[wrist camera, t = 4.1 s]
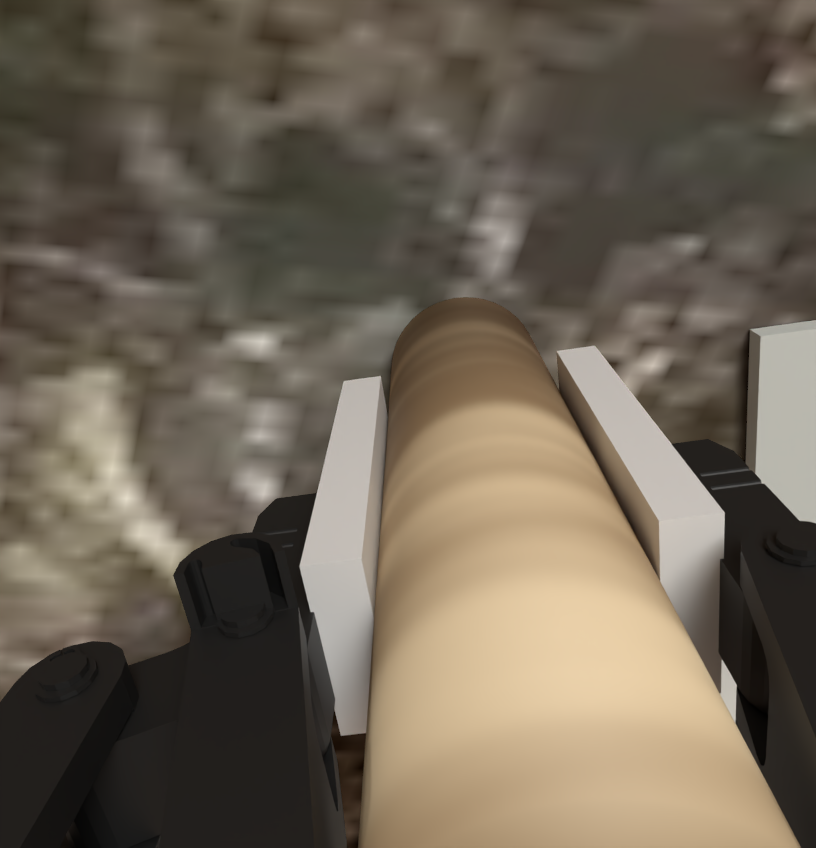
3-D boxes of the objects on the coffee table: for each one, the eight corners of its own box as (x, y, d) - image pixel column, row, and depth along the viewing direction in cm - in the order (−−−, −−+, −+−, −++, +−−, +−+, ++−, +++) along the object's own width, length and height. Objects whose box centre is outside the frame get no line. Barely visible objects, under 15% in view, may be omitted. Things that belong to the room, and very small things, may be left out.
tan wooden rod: (381, 308, 18) (306, 828, 5) (530, 287, 18) (857, 771, 5) (403, 443, 19) (390, 1123, 6) (541, 424, 19) (818, 1089, 6)
